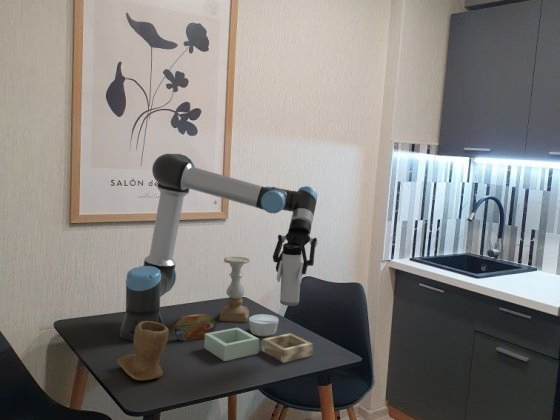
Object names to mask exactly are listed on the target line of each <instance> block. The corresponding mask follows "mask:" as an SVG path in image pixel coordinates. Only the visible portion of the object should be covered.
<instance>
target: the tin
mask: <svg viewBox="0 0 560 420" xmlns="http://www.w3.org/2000/svg"><path fill="white" fill-rule="evenodd" d="M215 330H216V321H215V319H214V317H213V316H211V315H209V314H207V313H198V314H191V315H183V316H180V317H178V318H177V319H175V321H174V323H173V325H172V332H173V334H174V336H175V337H176V339H178V340H179V341H182V342H183V341H184V342H185V341H187V342H188V341H192V340H194V341H195V340H201V339H205V334H206V333H211V332H215Z"/></svg>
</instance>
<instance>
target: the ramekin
mask: <svg viewBox="0 0 560 420" xmlns="http://www.w3.org/2000/svg"><path fill="white" fill-rule="evenodd" d="M279 320H280V319H279V317H278V316H275V315H273V314H272V315H271V314H263V313H261V314H260V313H259V314H254V315H251V316H249V317H248V324H249V330H250V332H251V335H253V336H254V335H255V336H257V337H258V336H259V337H270V336H271V337H272V336H274V335H275V334H276V333H277V329H278V325H279Z"/></svg>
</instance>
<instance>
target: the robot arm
mask: <svg viewBox="0 0 560 420" xmlns="http://www.w3.org/2000/svg"><path fill="white" fill-rule="evenodd" d="M151 172H152V176H153V178H154V180H155V181H156V182H157V185H156V186H157V190H158V191H159V192H160V194H159V200H158V205H157V210H156V218H155V222H154V228H153V233H152V239H151V244H150V250H149V254H148V256H146V257H144V260H143V265H142V266H138V267H133V268H131V269H130V270H129V271H128V272H127V274H126V279H125V315H124V317H123V320H122V324H121V326H120V332H119V336H120V338H121V339H123V340H125V341H130V342H133V340H134V333H135V328H136V326H137V325H138V324H139V323H140V322H142V321H153V322H157V323H161V324H163V325H164V321H163V319H162V316H161V310H160V309H161V298H162V297H163V296H164V295H166V294H167V293H168V292H170V291H171V290H172V288H173V287H174V285H175V283H176V281H177V273H176V270H175V269H176V264H177V263H176V261H175V260H174V253H175V246H176V242H177V236H178V230H179V226H180V219H181V213H182V210H183V209H182V207H183V202H184V197H185V196H187V195H189V193H190V190H192V191H196V192H200V193H203V194H206V195H210V196H213V197H218V198H221V199H225V200H228V201H232V202H234V203H239V204H243V205H246V206H250V207H253V208H257V209H260V210H263V211H265V212H267V213H269V214H278V213H279V212H281V211H287V212H291V213H292V214H291V218H290V222H289V227H288V231H287V233H285V235H282V234H277V239H278V240H277V242H276V246H275V249H274V251H273V254H272V260H273V263H275V264H276V265H275V271H276V272H277V274H276V281H277V282H278V283H281V274H282V255H283V250H282V249H283V245H284V244H285V243H284V242H285V241H287V242H286V243H292V242H298V243H299V244H301V245H302V251H301V252H302V255H301V256H302V262H301V265H300V270H299V275H298V284H300V285H301V284H302V279H303V275H307V271H308V267H313V266H314V261H315V252H316V247H317V245H318V239H317V237H314V238H312V237H311V236H310V235H311V231H312V225H313V221H314V217H315V216H314V215H315V212H316V206H317V201H318V193H317V191H316V189H314V188H313V187H311V186H305V185H304V186H301V187H300V188H298V190H297V191H296V190H289V189H285V188H279V187H275V186H269V185H268V186H262V185H258V184H255V183H253V182H252V183H251V182H248V181H244V180H240V179H238V178H234V177H230V176H228V175H227V176H226V175H223V174H220V173H216V172H213V171H209V170H205V169H202V168H198V167H196V166H195V163H194V162H193V160H192V159H191V158H190V157H188V156H187V155H184V154H182V153H164V154H161V155H159V156H158V157H157V158H156V159H155V160H154V162H153V164H152V170H151ZM308 243H309V245H310V251H309V259H308V258H307V254H306V253H307V252H306V248H305V247H306V245H307V244H308ZM281 250H282V251H281Z"/></svg>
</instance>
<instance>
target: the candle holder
mask: <svg viewBox="0 0 560 420" xmlns="http://www.w3.org/2000/svg"><path fill="white" fill-rule="evenodd" d="M223 262H224V263H227V264H229V266H230V268H231V272H230V273H229V276H230V278H231V282H230V284H229V285H228V287H227V289H226V293H225V294H226V296H227V297H228V299H227V305H224V306H223V309H222V310H221V312H220V314H219V319H218V320H219V322H227V323H228V322H229V323H230V322H231V323H247V322H249V317H250V309H248V307H247V306H244V305H242V304H243V303H244V302H243V297H244V296H245V288H244V287H243V285H242V282H241V279H242V278H243V276H244V274H243V273H242V268H243V266H244V265H245V264H248V263H250V259H249V258H247V257H242V256H228V257H225V258H224V259H223Z"/></svg>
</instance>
